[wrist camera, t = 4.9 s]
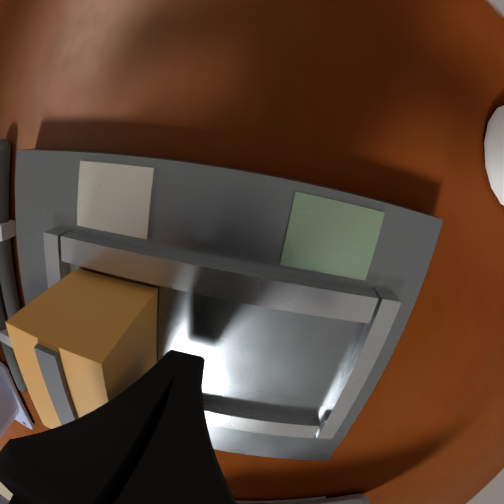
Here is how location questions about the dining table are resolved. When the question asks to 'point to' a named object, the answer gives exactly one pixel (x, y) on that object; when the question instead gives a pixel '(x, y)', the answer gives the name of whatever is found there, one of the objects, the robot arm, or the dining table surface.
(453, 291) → the dining table surface
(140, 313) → the cardboard box
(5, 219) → the cable bundle
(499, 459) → the dining table surface
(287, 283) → the grey metal tray
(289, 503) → the digital clock
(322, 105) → the dining table surface
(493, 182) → the white hollow cone ring
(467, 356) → the dining table surface
